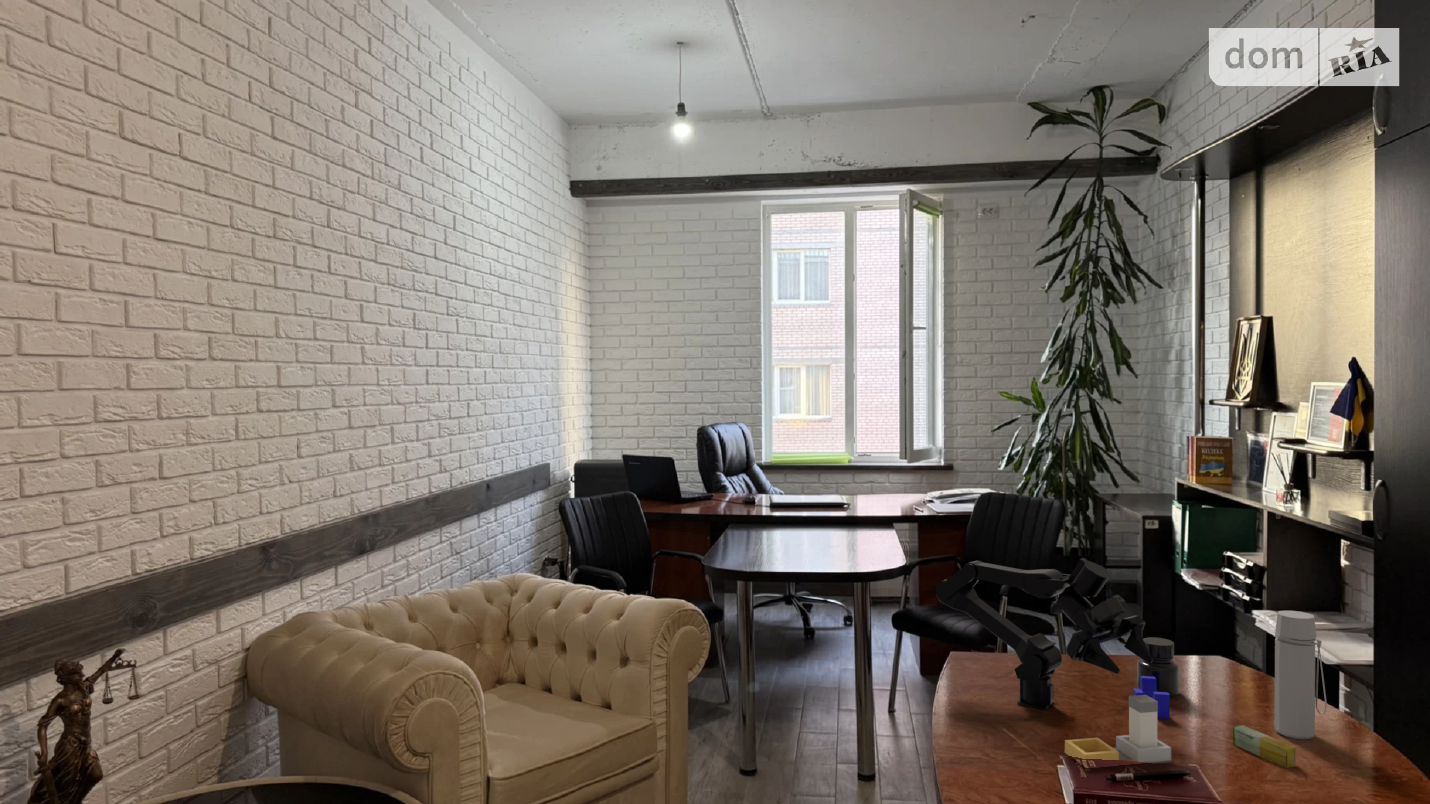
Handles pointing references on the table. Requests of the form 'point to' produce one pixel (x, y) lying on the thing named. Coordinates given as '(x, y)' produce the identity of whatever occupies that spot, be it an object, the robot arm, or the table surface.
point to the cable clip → (1154, 695)
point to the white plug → (1143, 721)
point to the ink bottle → (1160, 665)
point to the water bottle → (1296, 674)
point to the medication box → (1264, 746)
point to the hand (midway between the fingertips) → (1135, 666)
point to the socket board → (1117, 750)
